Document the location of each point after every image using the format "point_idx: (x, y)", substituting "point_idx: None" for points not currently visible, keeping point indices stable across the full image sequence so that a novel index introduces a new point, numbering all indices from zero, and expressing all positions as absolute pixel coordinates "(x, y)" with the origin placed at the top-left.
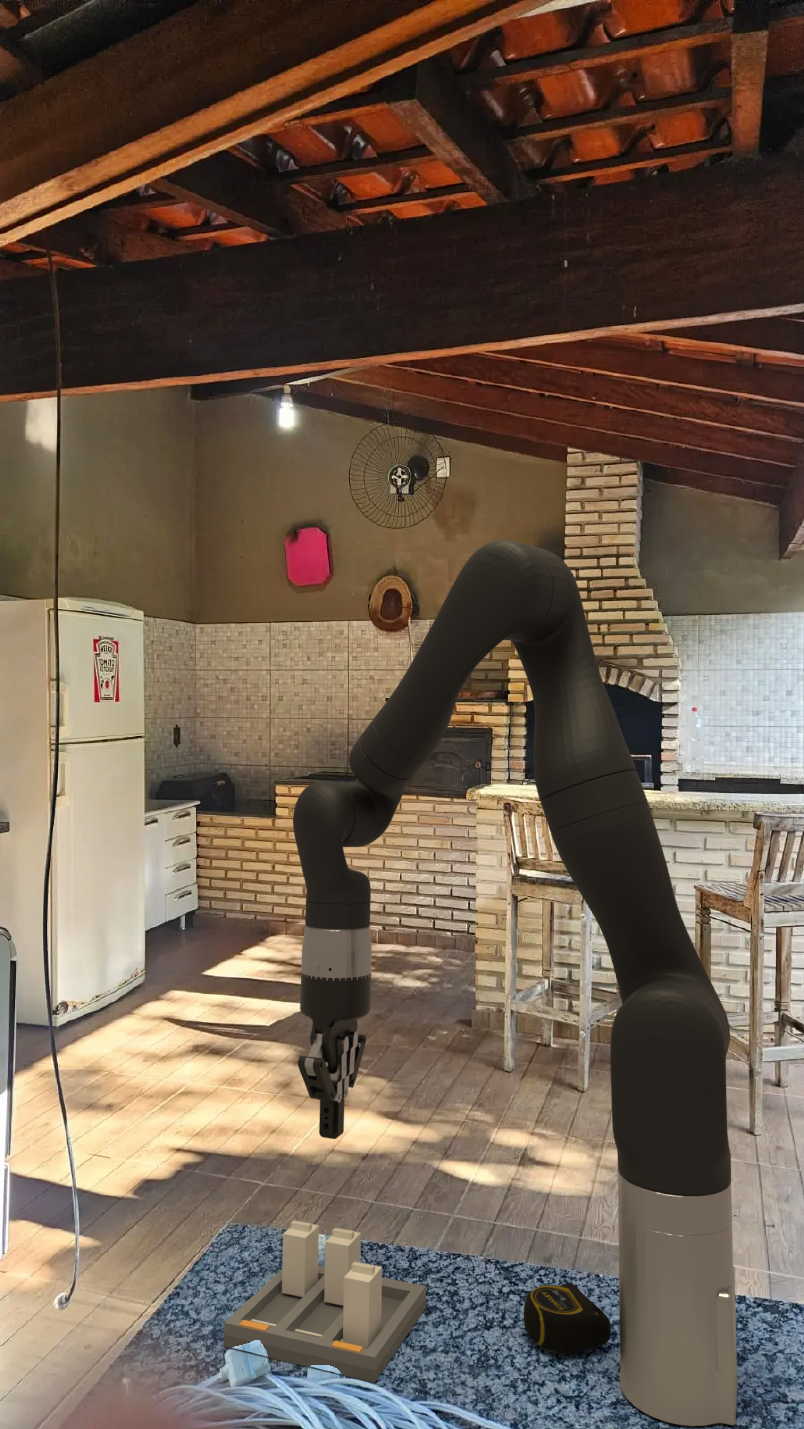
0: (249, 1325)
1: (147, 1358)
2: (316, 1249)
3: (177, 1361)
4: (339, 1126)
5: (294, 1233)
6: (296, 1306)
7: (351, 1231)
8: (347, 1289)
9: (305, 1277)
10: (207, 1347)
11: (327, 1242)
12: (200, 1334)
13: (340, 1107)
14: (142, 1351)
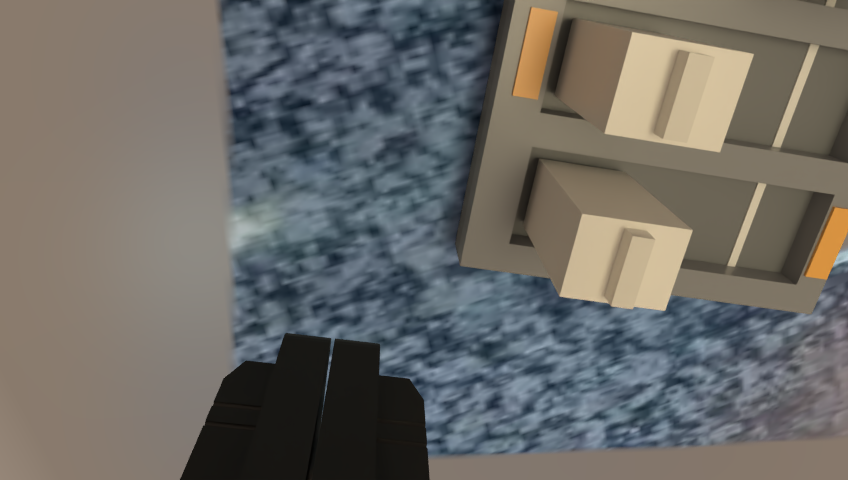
0: (832, 254)
1: (821, 409)
2: (576, 191)
3: (834, 354)
4: (360, 374)
5: (661, 276)
6: (728, 170)
7: (691, 63)
8: None
9: (637, 186)
10: (781, 319)
11: (721, 143)
12: (729, 351)
13: (340, 469)
14: (796, 427)
